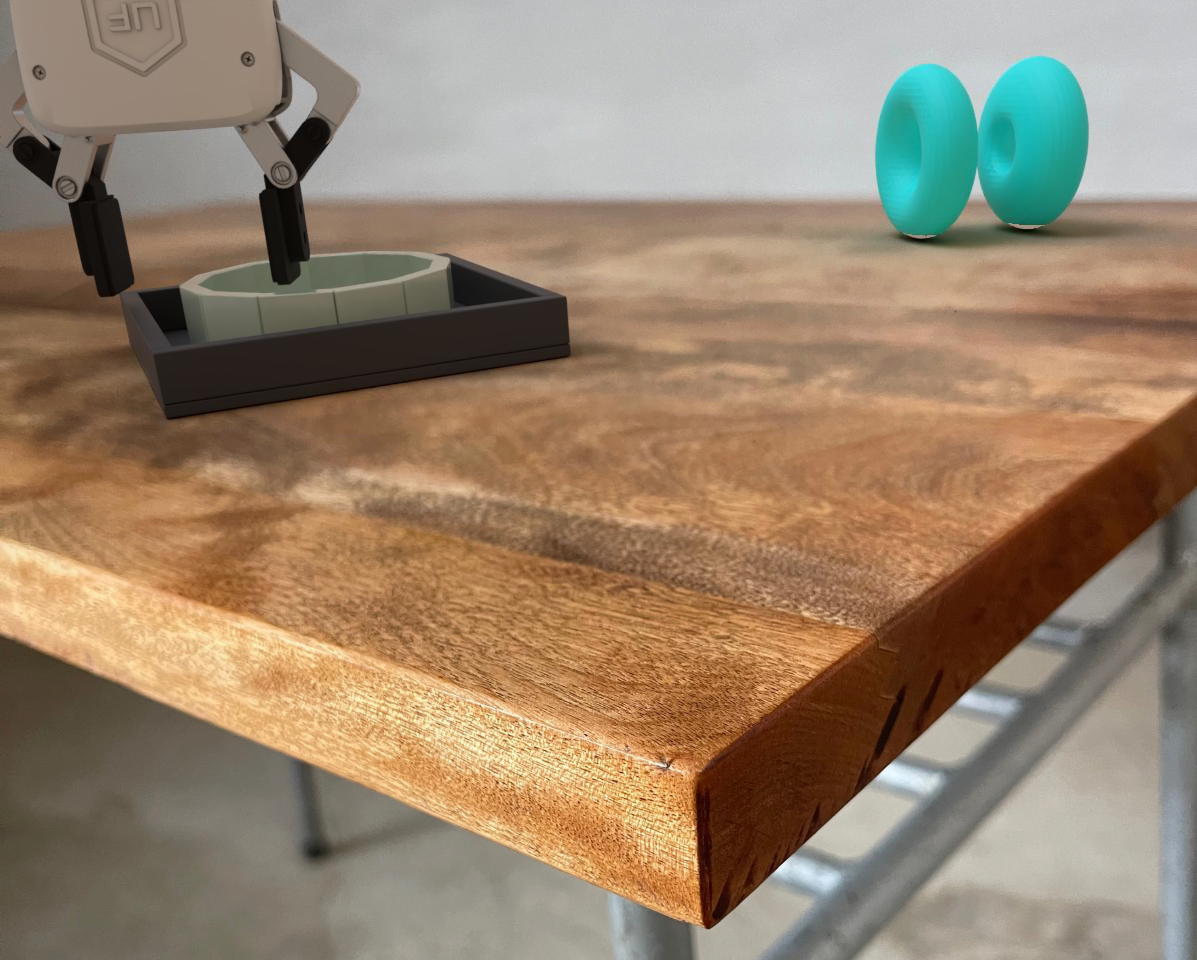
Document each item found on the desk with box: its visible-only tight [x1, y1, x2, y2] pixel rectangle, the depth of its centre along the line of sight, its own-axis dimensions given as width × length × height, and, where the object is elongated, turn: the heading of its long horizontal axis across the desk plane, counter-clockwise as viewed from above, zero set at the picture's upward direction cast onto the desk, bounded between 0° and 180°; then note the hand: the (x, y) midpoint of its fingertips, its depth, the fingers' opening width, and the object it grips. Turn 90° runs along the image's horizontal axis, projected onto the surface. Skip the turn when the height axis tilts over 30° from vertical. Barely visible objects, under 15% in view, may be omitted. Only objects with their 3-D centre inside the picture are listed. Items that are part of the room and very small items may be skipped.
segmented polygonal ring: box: [179, 250, 455, 344], centre depth 56 cm, size 12×12×3 cm
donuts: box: [874, 55, 1090, 236], centre depth 75 cm, size 10×10×10 cm
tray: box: [118, 252, 572, 419], centre depth 56 cm, size 17×17×2 cm
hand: (202, 282), depth 55 cm, fingers open, 7 cm apart
